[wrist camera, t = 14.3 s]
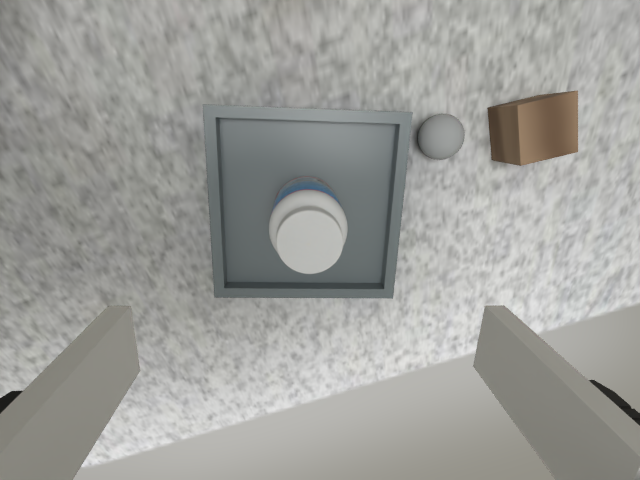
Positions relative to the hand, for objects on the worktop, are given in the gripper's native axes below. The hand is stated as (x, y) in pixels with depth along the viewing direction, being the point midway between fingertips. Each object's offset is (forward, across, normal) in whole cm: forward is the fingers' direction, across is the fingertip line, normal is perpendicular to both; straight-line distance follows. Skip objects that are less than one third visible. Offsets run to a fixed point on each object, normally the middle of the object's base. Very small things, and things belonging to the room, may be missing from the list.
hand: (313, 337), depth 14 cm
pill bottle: (+23, 0, 0) cm, 23 cm away
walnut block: (+24, +20, +8) cm, 32 cm away
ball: (+24, +12, +7) cm, 28 cm away
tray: (+24, 0, 0) cm, 24 cm away
